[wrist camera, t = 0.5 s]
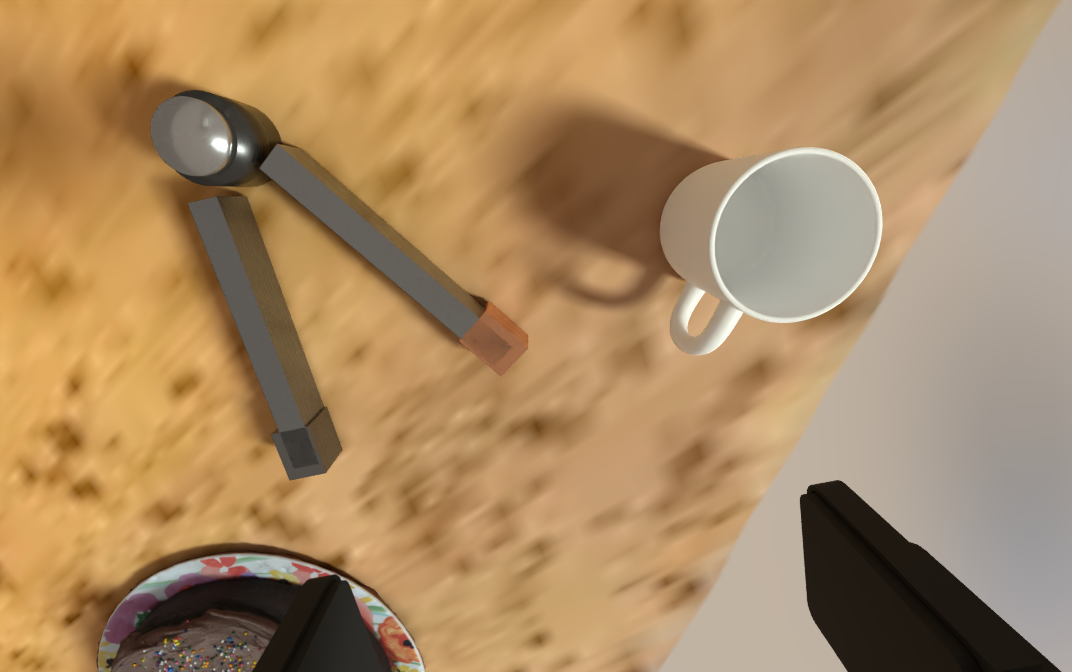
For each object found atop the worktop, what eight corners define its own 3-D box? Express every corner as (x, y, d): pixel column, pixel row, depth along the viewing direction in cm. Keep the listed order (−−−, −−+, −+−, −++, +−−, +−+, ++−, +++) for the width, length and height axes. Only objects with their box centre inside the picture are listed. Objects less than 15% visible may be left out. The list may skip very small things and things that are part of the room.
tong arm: (194, 147, 31) (136, 139, 27) (240, 81, 30) (187, 61, 26) (480, 385, 36) (473, 413, 31) (528, 335, 35) (527, 356, 30)
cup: (804, 198, 33) (919, 200, 23) (707, 351, 36) (773, 410, 26) (698, 137, 32) (773, 112, 22) (607, 300, 35) (637, 342, 25)
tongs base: (181, 115, 31) (131, 104, 27) (265, 95, 31) (228, 80, 27) (311, 454, 38) (286, 483, 34) (382, 439, 37) (365, 467, 34)
